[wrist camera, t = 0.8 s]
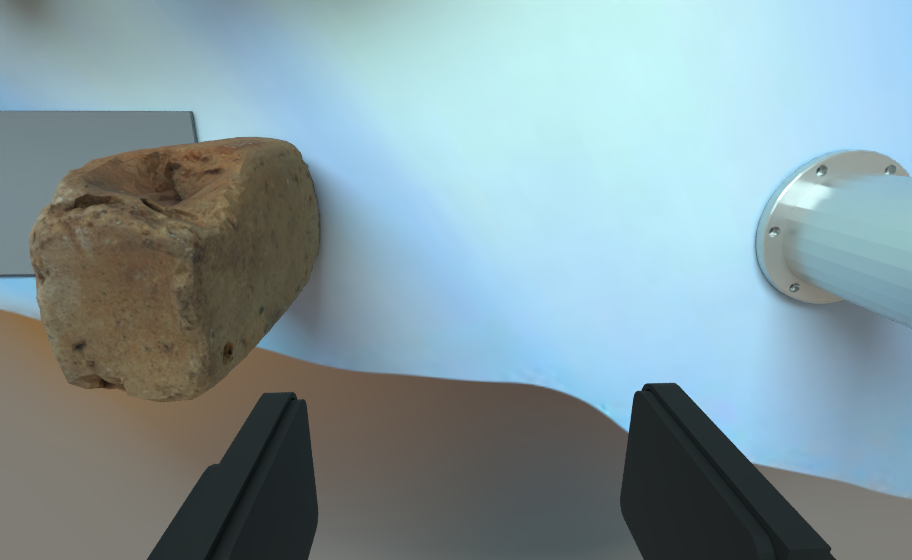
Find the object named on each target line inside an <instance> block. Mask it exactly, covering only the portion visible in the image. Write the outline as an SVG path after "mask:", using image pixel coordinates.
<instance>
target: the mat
mask: <svg viewBox="0 0 912 560" xmlns="http://www.w3.org/2000/svg"><path fill="white" fill-rule="evenodd" d="M191 143H197V139H196V132H195V126H194V120H193V114H192V111H0V275H2V274H34V271H33V268H32V264H31V259H30V251H29V234H30V232H31V230H32V228H33V225H34V223H35V221H36V219H37V217H38V215H39V213H40V211H41V210H42V209H43V208H45V207H46V206H47V205H48V204H50V203H51V202H52V200H53V197H54V193H55V189H56V187H57V185H58V184H59V182H60V180H61V179H62V178H64V177H65V176H66V175H67V173H68V172H69V171H70V170H75V169H78V168H82V167H83V166H84V165H85V164H86V163H88V162H89V161H91V160H93V159H98V158H103V157H107V156H111V155H115V154H120V153H124V152H129V151H134V150H139V149H148V148H158V147H162V146H170V145H179V144H191Z"/></svg>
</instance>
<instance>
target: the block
mask: <svg viewBox="0 0 912 560" xmlns="http://www.w3.org/2000/svg"><path fill="white" fill-rule="evenodd" d="M319 238H320V226H319V210H318V201H317V197H316V196H315V193H314V185H313V182H312V179H311V176H310V173H309V170H308V165H307V164H306V163H305V162H304V161H303V160H302V155H301V153H300V152H299V150H298V149H297V148H296V147H295V146H294V145H293V144H291V143H289V142H287V141H283V140H279V139H273V138H263V137H236V138H228V139H222V140H215V141H205V142H200V143H191V144H179V145H170V146H162V147H158V148H148V149H139V150H134V151H129V152H124V153H120V154H115V155H111V156H107V157H103V158H98V159H93V160H91V161H89V162H88V163H86V164H85V165H84V166H83V167H82V168H78V169H75V170H70V171H69V172H68V173H67V175H66V176H65V177H64V178H62V179H61V180H60V182H59V184H58V185H57V187H56V189H55V193H54V197H53V200H52V202H51V203H50V204H48V205H47V206H46V207H45V208H43V209H42V210H41V211H40V213H39V215H38V217H37V219H36V221H35V223H34V225H33V228H32V230H31V232H30V234H29V251H30V259H31V264H32V268H33V271H34V274H35V276H36V288H37V297H36V299H37V302H38V305H39V308H40V314H41V321H42V323H43V326H44V328H45V331H46V334H47V336H48V339H49V343H50V345H51V349H52V351H53V353H54V355H55V357H56V359H57V362H58V364H59V366H60V368H61V370H62V371H63V374H64V375H65V377H66V379H67V381H68V383H69V384H72V385H76V386H79V387H82V388H85V389H92V388H106V389H118V390H122V391H125V392H127V395H128V396H133V397H137V398H141V399H146V400H151V401H157V402H169V401H181V400H192V399H194V398H196V397H198V396H200V395H201V394H203V393H204V392H206V391H208V390H209V389H211V388H212V387H214V386H215V385H216V384H217V383H219V382H220V381H221V380H222V379H223V378H225V377H226V375H228V373H229V372H230V371H231V370H232V369H233V368H234V367H235V366H236V365H238V364H239V363H240V362H241V361H242V360H243V359H244V358H245V357H246V356H247V355H248V353H249V352H250V351H251V350H252V349H253V348H254V347H255V346H256V345H257V344H258V343H259V342H260V340H261V339H262V338H263V337H264V336H265V335H266V334H267V333H268V332H269V331H270V329H271V328H272V327H273V325H274V324H275V323H276V322H277V321H278V320H279V319H280V317H281V316H282V315H283V314H284V313H285V312H286V311H287V309H288V308H289V307H290V305H291V304H292V303H293V301H294V300H295V299H296V297H297V296H298V295H299V293H300V292H301V291H302V289H303V287H304V286H305V285H306V283H307V282H308V280H309V278H310V275H311V271H312V267H313V263H314V261H315V259H316V257H317V255H318V250H319Z"/></svg>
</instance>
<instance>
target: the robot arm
mask: <svg viewBox="0 0 912 560" xmlns="http://www.w3.org/2000/svg"><path fill="white" fill-rule="evenodd" d="M756 250H757V257H758V262H759V264H760V267H761V269H762V272H763V274H764V275H765V277H766V278H767V280H768V281H769V282H770V283H771V284H772V285H773V286H774V287H775V288H776V289H777V290H779V291H780V292H782V293H784V294H786V295H788V296H789V297H792V298H794V299H797V300H799V301H801V302H807V303H812V304H829V303H834V302H839V301H843V300H847V301H849V302H851V303H854V304H856V305H858V306H861V307H863V308H865V309H868V310H870V311H872V312H875V313H877V314H879V315H882V316H884V317H886V318H889V319H891V320H893V321H896V322H898V323H900V324H903V325H905V326H907V327H910V328H912V177H910V176H909V174H908V172H907V171H906V170H905V169H904V168H903V167H902V166H901V165H900V164H899V163H898V162H896V161H895V160H893V159H892V158H890V157H889V156H886V155H883V154H881V153H878V152H874V151H865V150H841V151H836V152H831V153H828V154H825V155H823V156H820V157H817V158H815V159H813V160H811V161H810V162H808V163H806V164H805V165H803V166H801V167H800V168H798V169H797V170H796V171H795V172H794V173H792V174H791V175H790V176H789V177H787V178H786V180H785V181H784V182H783V183H782V184H781V185H780V186H779V187H778V189H777V190H776V191H775V192H774V194H773V196H772V197H771V199H770V200H769V202H768V203H767V205H766V207H765V210H764V212H763V214H762V216H761V219H760V223H759V227H758V231H757V241H756ZM620 504H621V511H622V515H623V517H624V520H625V521H626V524H627V526H628V528H629V530H630V532H631V534H632V536H633V538H634V540H635V542H636V544H637V546H638V548H639V551H640V553H641V555H642V557H643V559H644V560H836V559H835V558H834V557H833V556H832V555H831V554H830V551H831V547H830V546H829V545H828V544H827V543H826V542H825V541H824V540H823V539H822V538H821V537H820V535H819V534H818V533H817V532H816V531H815V530H814V529H813V528H812V527H811V526H810V525H809V524H808V523H807V522H806V521H805V520H804V518H802V516H801V515H800V514H799V513H798V512H797V511H796V510H795V509H794V508H793V507H792V506H791V505H790V504H789V502H787V501H786V500H785V498H784V497H783V496H782V495H781V494H780V493H779V492H778V491H777V490H776V489H775V488H774V487H773V486H772V484H771V483H770V482H769V481H768V480H767V479H766V478H765V477H764V476H763V475H762V474H761V473H760V472H759V471H758V470H757V468H756V467H754V465H753V464H752V463H751V462H750V461H749V460H748V459H747V458H746V457H745V456H744V455H743V454H742V452H741V451H740V450H739V449H738V448H737V447H736V446H735V445H734V444H733V443H732V442H731V441H730V440H729V439H728V438H727V437H726V435H725V434H724V433H723V432H722V431H721V430H720V429H719V428H718V427H717V426H716V425H715V424H714V423H713V422H712V421H711V420H710V418H709V417H708V416H707V415H706V414H705V413H704V412H703V411H702V410H701V409H700V408H699V407H698V406H697V405H696V404H695V402H694V401H693V400H692V399H691V398H690V397H689V396H688V395H687V394H686V393H685V392H684V391H683V390H682V389H681V388H680V387H679V386H678V385H677V384H676V383H649V384H645V385H644V386H643V388H642V391H637V392H636V393H635V394H634V398H633V406H632V413H631V421H630V428H629V436H628V443H627V451H626V459H625V467H624V474H623V481H622V489H621V496H620ZM317 522H318V504H317V495H316V486H315V477H314V468H313V459H312V450H311V440H310V432H309V424H308V414H307V405H306V402H305V400H304V399H302V400H297V397H296V394H295V393H294V392H282V393H264V394H263V395H262V396H261V397H260V399H259V401H258V402H257V404H256V405H255V407H254V409H253V410H252V412H251V413H250V415H249V417H248V418H247V420H246V421H245V423H244V425H243V426H242V428H241V430H240V431H239V433H238V434H237V436H236V437H235V439H234V441H233V442H232V444H231V445H230V447H229V449H228V450H227V452H226V454H225V455H224V457H223V458H222V460H221V462H220V463H219V464H213V465H211V466H209V467H208V468H207V469H206V470H205V472H204V473H203V474H202V476H201V477H200V479H199V480H198V482H197V483H196V485H195V486H194V488H193V490H192V491H191V493H190V494H189V496H188V497H187V499H186V500H185V502H184V503H183V505H182V506H181V508H180V510H179V511H178V513H177V514H176V516H175V517H174V519H173V520H172V522H171V523H170V525H169V526H168V528H167V529H166V531H165V532H164V534H163V536H162V537H161V539H160V540H159V542H158V543H157V545H156V546H155V548H154V549H153V551H152V552H151V554H150V555H149V557H148V559H147V560H308V557H309V553H310V550H311V546H312V543H313V539H314V535H315V532H316V528H317Z"/></svg>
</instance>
